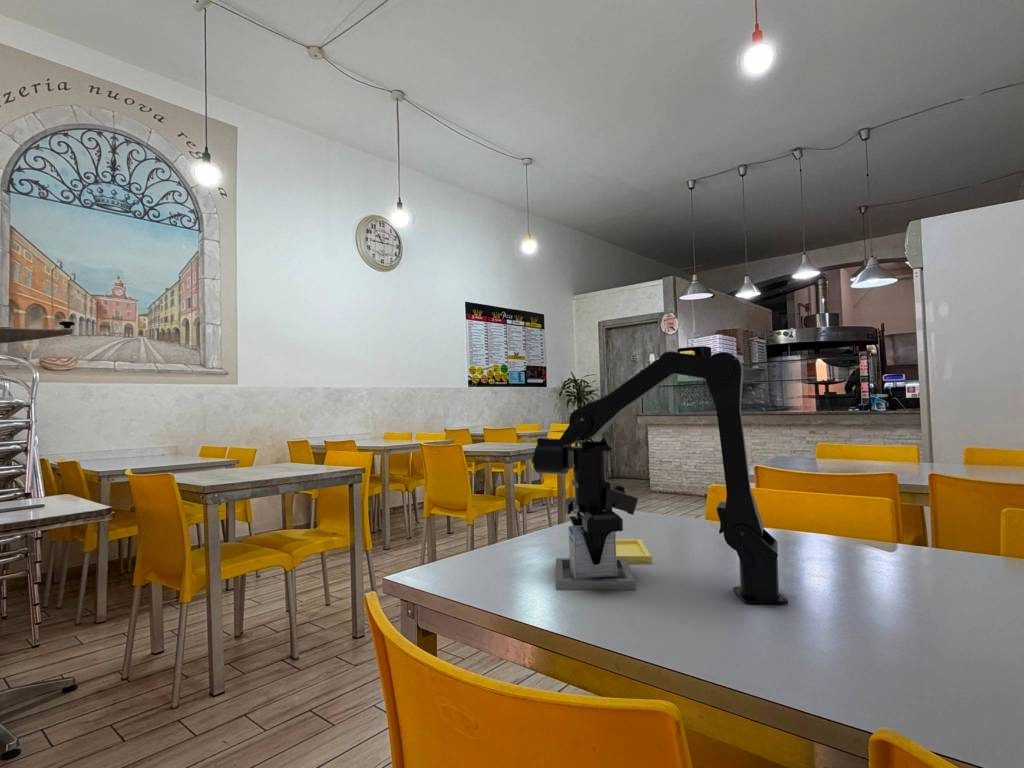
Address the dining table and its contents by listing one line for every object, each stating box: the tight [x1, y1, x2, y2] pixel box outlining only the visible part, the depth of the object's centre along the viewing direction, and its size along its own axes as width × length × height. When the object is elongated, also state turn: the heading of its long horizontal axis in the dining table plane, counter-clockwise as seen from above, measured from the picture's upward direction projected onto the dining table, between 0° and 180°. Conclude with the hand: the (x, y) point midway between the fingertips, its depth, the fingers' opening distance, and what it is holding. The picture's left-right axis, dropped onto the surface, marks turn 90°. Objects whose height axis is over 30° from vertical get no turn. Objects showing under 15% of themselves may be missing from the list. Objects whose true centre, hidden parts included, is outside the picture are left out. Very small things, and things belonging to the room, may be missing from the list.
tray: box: [616, 538, 653, 565], centre depth 114 cm, size 13×9×2 cm
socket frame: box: [555, 557, 636, 591], centre depth 100 cm, size 13×13×2 cm
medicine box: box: [568, 525, 618, 579], centre depth 100 cm, size 8×4×9 cm, turn 96°
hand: (592, 560), depth 100 cm, fingers closed on medicine box, 4 cm apart
